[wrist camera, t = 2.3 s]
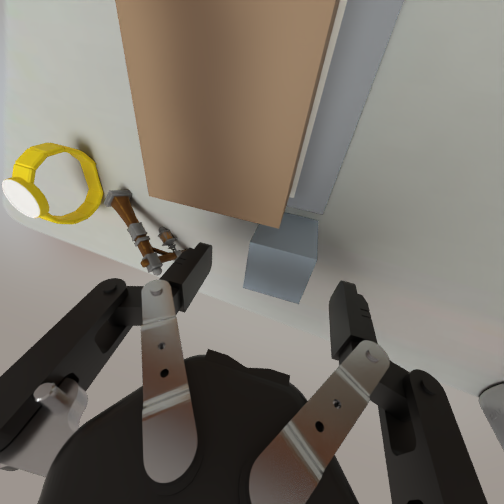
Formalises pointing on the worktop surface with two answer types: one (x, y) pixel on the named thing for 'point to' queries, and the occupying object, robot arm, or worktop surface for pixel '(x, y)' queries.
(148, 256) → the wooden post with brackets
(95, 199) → the watch
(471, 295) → the worktop surface
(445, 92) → the worktop surface
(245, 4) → the walnut block
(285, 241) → the gray block
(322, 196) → the build pad
